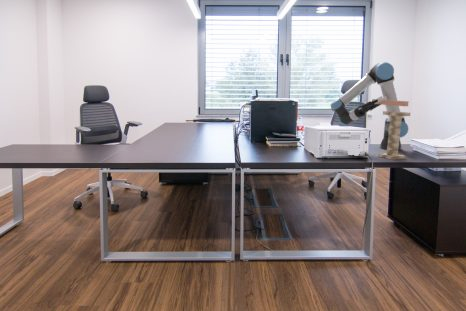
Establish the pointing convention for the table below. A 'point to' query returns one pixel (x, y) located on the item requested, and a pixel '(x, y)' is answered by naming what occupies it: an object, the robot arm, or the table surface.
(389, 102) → the bar
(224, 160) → the table surface
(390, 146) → the pedestal stand
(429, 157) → the table surface
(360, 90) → the robot arm
